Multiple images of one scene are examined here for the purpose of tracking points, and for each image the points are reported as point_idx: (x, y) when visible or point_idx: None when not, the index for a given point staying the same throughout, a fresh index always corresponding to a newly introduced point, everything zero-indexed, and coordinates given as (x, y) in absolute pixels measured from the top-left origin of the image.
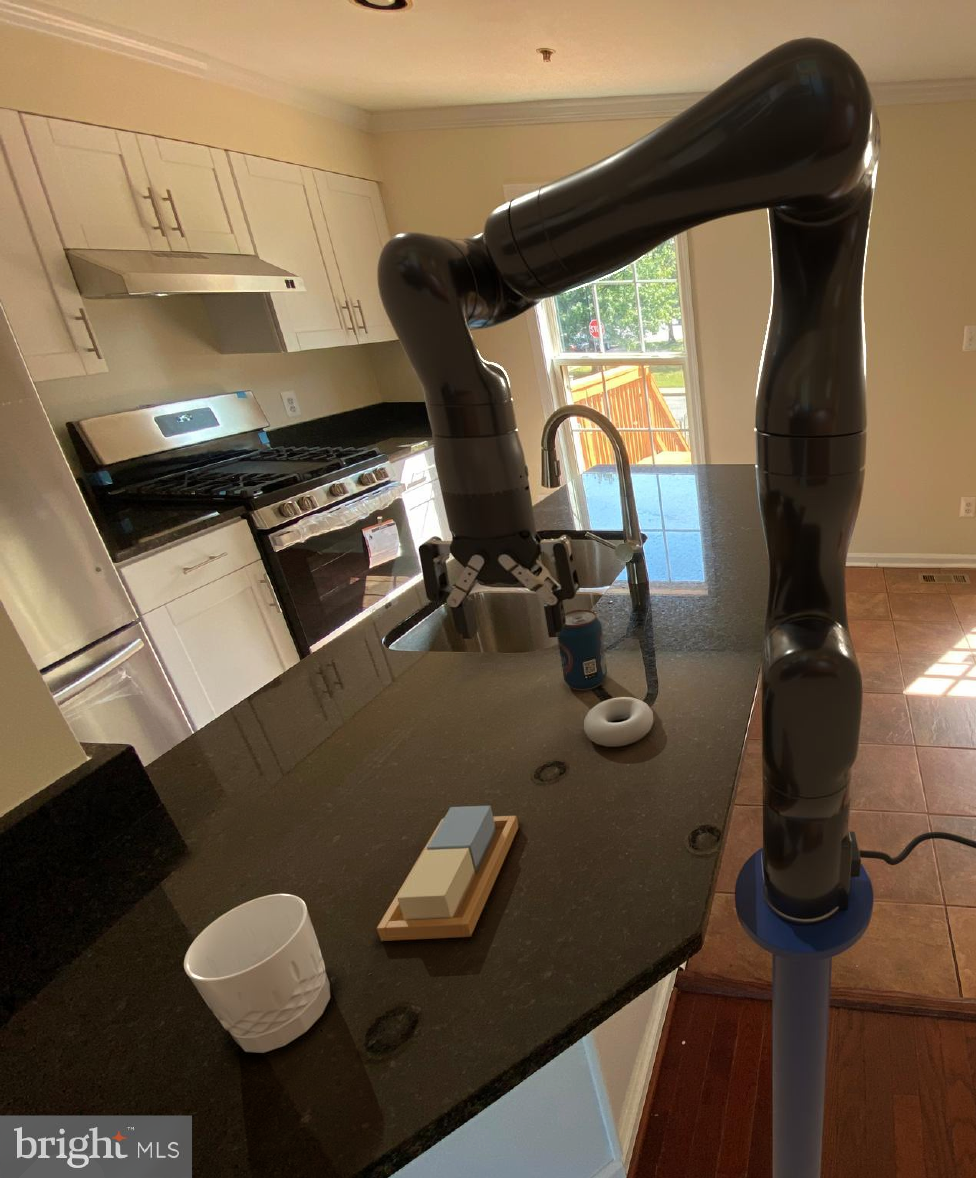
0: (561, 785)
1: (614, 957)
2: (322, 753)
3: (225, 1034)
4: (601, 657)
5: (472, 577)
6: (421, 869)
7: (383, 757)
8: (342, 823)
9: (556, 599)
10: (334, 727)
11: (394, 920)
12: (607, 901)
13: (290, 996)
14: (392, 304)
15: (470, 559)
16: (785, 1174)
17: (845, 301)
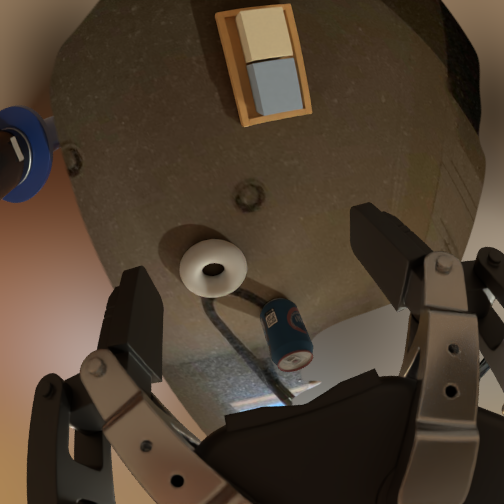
0: (229, 182)
1: (90, 36)
2: (431, 185)
3: None
4: (265, 331)
5: (433, 381)
6: (281, 34)
7: (395, 187)
8: (387, 114)
9: (81, 370)
10: (434, 212)
11: (284, 15)
12: (115, 73)
13: None
14: None
15: (472, 474)
16: None
17: None
